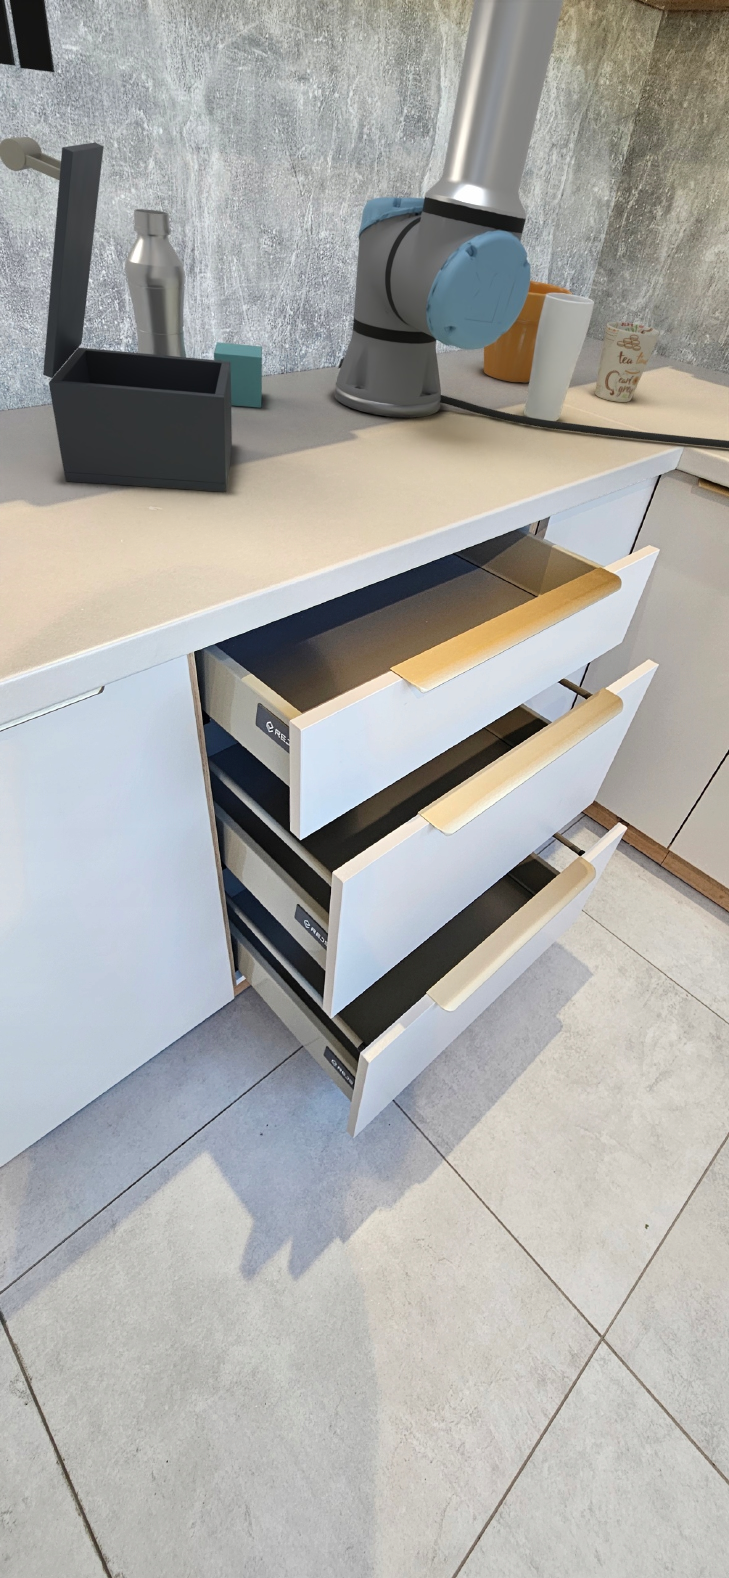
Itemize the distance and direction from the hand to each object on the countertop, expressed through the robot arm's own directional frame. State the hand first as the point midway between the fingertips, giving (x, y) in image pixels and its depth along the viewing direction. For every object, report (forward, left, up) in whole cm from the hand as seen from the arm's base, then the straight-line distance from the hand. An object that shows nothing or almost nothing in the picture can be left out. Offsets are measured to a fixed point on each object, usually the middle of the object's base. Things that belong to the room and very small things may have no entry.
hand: (18, 68), depth 59 cm
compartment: (-8, +2, -30) cm, 31 cm away
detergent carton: (-16, -24, -30) cm, 42 cm away
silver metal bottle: (-8, -16, -30) cm, 35 cm away
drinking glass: (-60, -28, -30) cm, 73 cm away
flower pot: (-61, -52, -30) cm, 86 cm away
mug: (-78, -46, -30) cm, 96 cm away
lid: (-3, +2, -12) cm, 13 cm away
